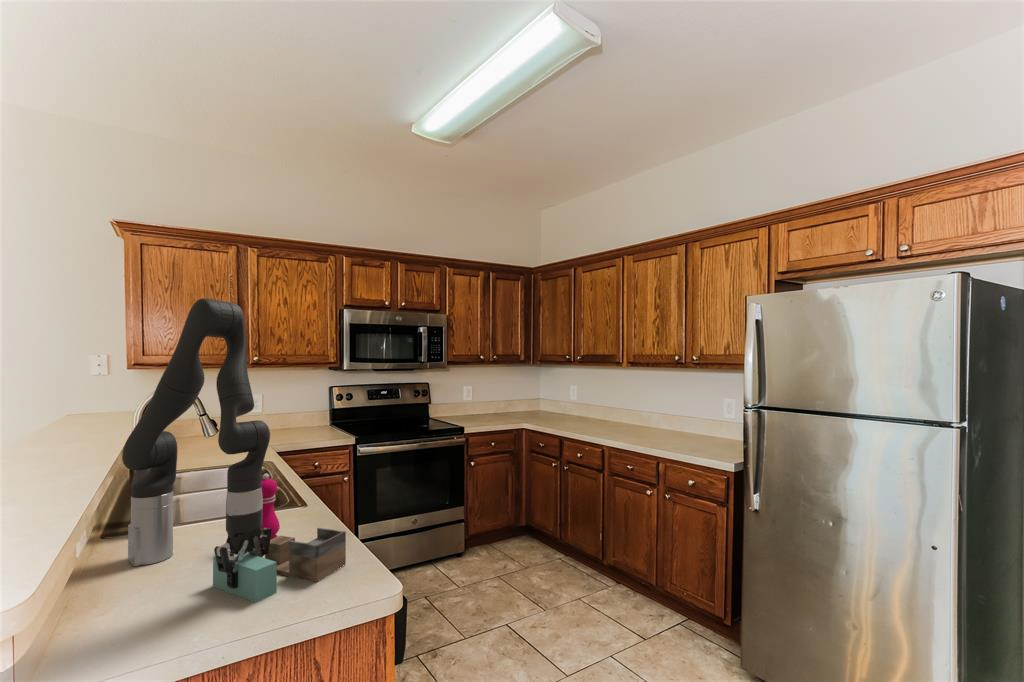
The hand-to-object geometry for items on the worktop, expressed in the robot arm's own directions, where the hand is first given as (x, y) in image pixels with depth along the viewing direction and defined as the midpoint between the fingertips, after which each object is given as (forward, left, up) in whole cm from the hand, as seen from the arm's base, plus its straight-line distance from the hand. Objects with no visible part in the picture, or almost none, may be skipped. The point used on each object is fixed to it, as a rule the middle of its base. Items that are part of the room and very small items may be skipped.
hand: (244, 581), depth 117 cm
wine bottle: (-4, +62, -2) cm, 62 cm away
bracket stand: (+14, +3, -2) cm, 14 cm away
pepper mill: (+15, +24, -2) cm, 29 cm away
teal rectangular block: (0, 0, -2) cm, 2 cm away
